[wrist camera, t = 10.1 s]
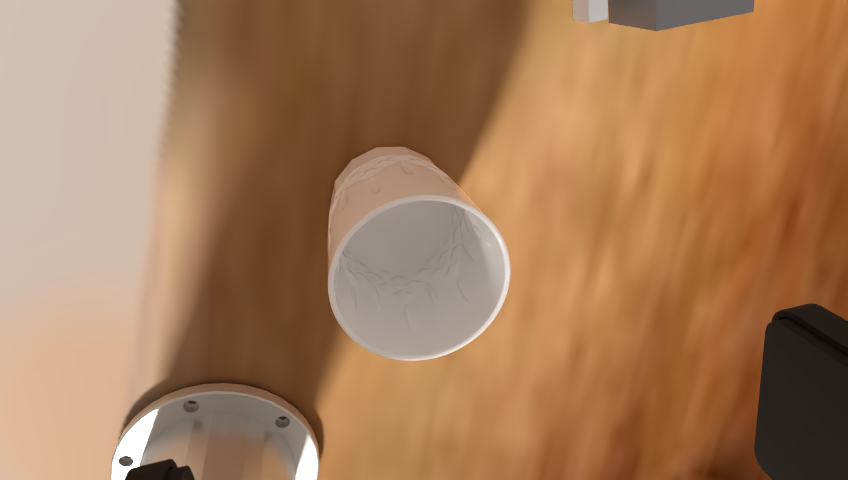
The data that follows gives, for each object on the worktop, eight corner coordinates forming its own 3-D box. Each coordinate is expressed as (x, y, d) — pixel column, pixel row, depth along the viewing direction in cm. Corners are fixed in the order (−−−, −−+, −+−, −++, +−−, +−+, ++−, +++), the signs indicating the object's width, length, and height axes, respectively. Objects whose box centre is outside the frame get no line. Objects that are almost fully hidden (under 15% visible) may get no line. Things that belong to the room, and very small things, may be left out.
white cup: (423, 109, 33) (470, 162, 24) (477, 227, 37) (535, 311, 28) (293, 175, 34) (292, 251, 25) (359, 286, 37) (379, 389, 28)
